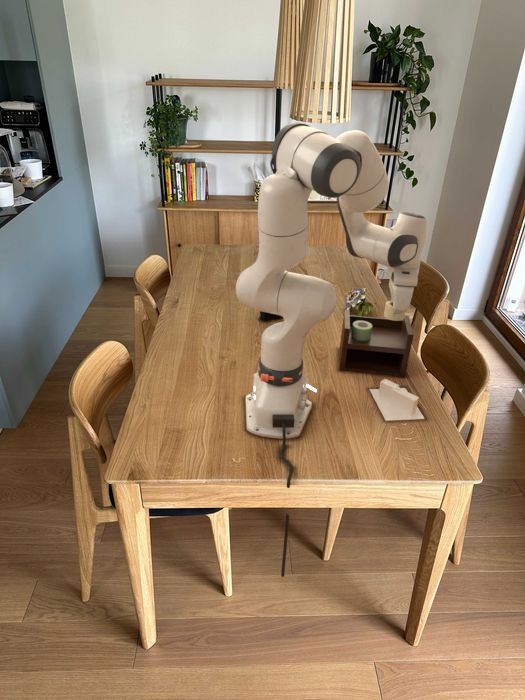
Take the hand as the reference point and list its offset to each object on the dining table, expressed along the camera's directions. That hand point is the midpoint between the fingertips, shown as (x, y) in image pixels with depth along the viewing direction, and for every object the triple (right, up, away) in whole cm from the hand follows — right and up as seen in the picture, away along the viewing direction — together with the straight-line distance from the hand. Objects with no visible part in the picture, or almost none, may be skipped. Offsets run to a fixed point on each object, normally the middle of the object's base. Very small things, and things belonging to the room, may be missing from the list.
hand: (394, 313), depth 150 cm
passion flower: (-3, +4, +44) cm, 44 cm away
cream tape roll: (0, -1, +1) cm, 1 cm away
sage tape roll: (-9, -7, +6) cm, 13 cm away
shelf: (-5, -15, +11) cm, 20 cm away
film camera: (-35, +2, +39) cm, 53 cm away
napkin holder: (-2, -27, -8) cm, 28 cm away
